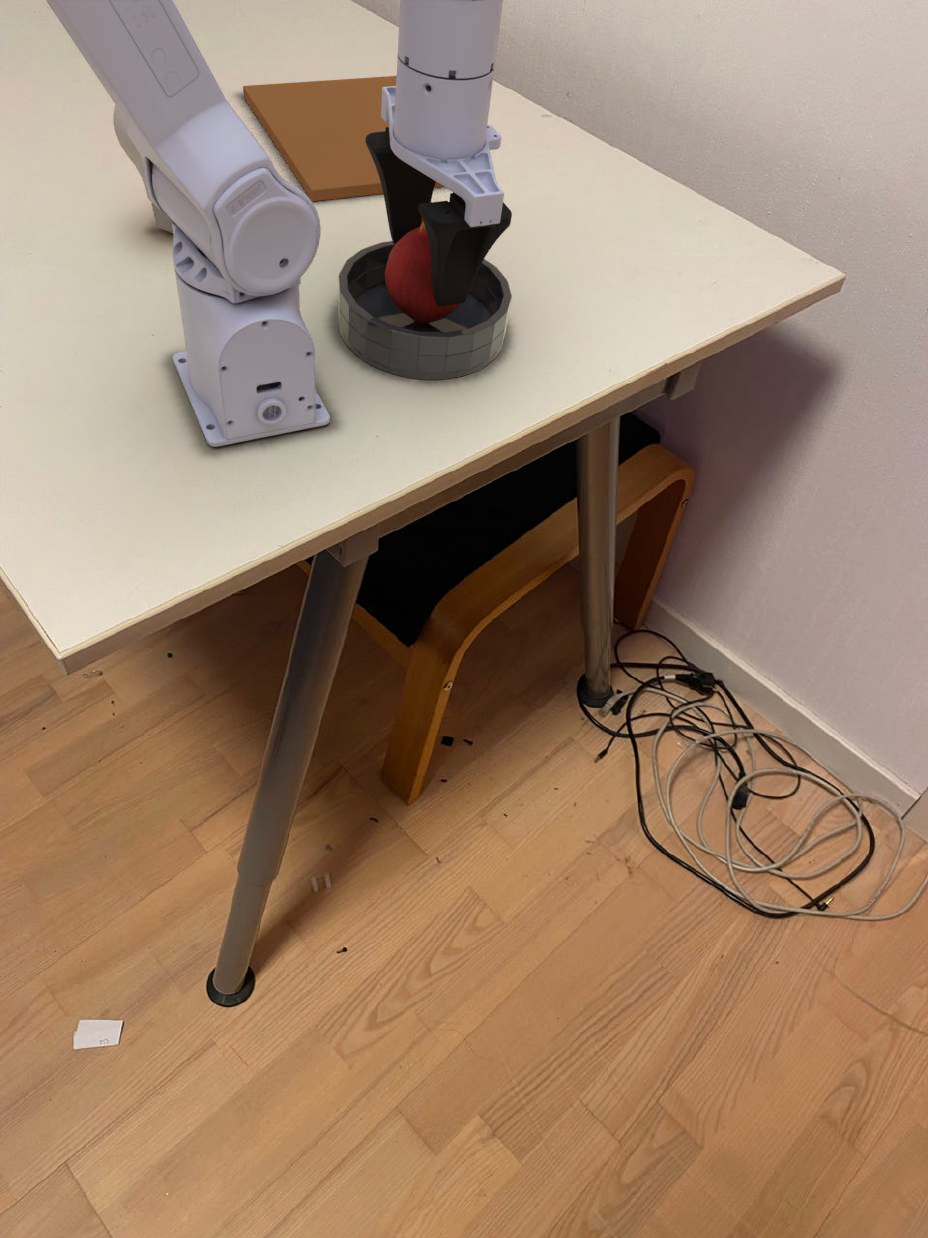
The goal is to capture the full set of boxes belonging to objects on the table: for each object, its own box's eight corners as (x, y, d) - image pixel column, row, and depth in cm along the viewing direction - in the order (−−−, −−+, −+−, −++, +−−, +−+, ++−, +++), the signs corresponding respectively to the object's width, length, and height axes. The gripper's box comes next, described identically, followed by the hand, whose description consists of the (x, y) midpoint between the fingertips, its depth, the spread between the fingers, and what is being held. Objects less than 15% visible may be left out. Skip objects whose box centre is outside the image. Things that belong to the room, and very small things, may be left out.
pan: (531, 363, 67) (540, 321, 64) (374, 393, 62) (376, 349, 60) (462, 271, 73) (467, 230, 70) (315, 293, 69) (315, 250, 66)
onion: (465, 306, 69) (478, 203, 63) (457, 351, 66) (471, 246, 59) (389, 294, 69) (395, 189, 63) (377, 338, 65) (381, 232, 59)
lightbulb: (134, 253, 69) (107, 99, 61) (130, 211, 73) (104, 60, 64) (217, 250, 71) (202, 100, 62) (209, 209, 74) (193, 62, 66)
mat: (482, 182, 82) (483, 171, 82) (311, 201, 77) (311, 189, 76) (398, 85, 93) (399, 74, 92) (243, 96, 88) (242, 85, 87)
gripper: (564, 109, 51) (524, 321, 62) (457, 7, 59) (438, 211, 69) (449, 119, 49) (428, 338, 59) (353, 12, 56) (350, 222, 67)
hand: (427, 271), depth 64 cm, fingers open, 7 cm apart
